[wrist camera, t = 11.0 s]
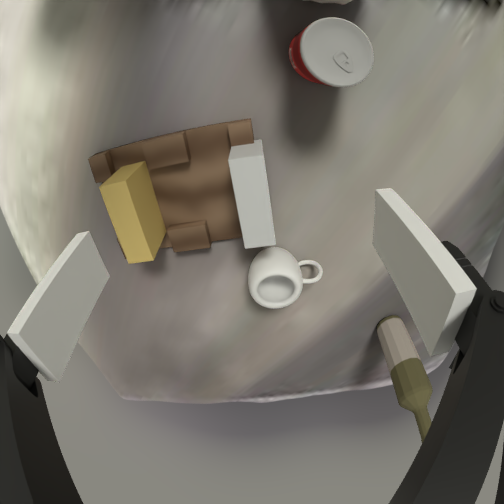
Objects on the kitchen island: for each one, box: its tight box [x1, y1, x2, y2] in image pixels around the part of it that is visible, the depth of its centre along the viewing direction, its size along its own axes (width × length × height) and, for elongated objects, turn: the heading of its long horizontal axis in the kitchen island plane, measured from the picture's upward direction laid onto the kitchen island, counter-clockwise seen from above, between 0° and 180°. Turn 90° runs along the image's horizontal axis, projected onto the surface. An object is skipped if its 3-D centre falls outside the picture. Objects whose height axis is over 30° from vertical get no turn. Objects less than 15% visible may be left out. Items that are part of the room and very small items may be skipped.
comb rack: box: [88, 118, 254, 259], centre depth 43 cm, size 18×24×3 cm
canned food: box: [289, 17, 374, 87], centre depth 29 cm, size 8×8×11 cm
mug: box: [248, 247, 323, 309], centre depth 48 cm, size 12×8×8 cm
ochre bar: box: [99, 161, 166, 264], centre depth 41 cm, size 12×4×8 cm, turn 9°
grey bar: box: [228, 139, 276, 249], centre depth 39 cm, size 12×4×8 cm, turn 8°
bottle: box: [377, 315, 432, 443], centre depth 49 cm, size 7×7×30 cm
